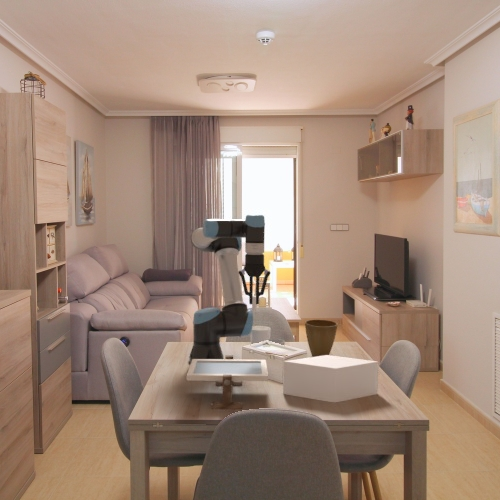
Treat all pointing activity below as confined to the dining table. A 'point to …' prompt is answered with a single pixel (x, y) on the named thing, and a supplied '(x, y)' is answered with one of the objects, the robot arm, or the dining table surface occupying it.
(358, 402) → the dining table surface
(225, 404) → the walnut stand
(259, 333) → the candle holder
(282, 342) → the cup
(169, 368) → the dining table surface
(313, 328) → the plant pot
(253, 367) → the tilted frame
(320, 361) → the block
